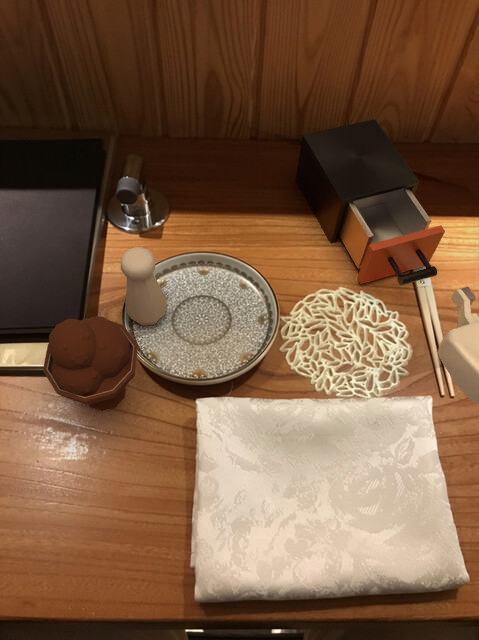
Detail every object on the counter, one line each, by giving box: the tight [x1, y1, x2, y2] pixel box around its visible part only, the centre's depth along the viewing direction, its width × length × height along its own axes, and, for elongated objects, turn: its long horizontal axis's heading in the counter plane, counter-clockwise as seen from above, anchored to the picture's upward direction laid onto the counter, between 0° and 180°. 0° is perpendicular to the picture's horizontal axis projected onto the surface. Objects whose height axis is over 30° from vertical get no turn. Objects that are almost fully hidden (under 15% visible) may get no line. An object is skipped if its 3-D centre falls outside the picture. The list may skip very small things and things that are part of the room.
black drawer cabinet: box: [295, 118, 420, 244], centre depth 89 cm, size 15×13×10 cm
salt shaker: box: [120, 246, 168, 327], centre depth 75 cm, size 6×6×13 cm
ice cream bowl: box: [42, 315, 139, 412], centre depth 67 cm, size 11×11×15 cm
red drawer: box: [338, 188, 446, 287], centre depth 83 cm, size 18×11×8 cm, turn 19°
